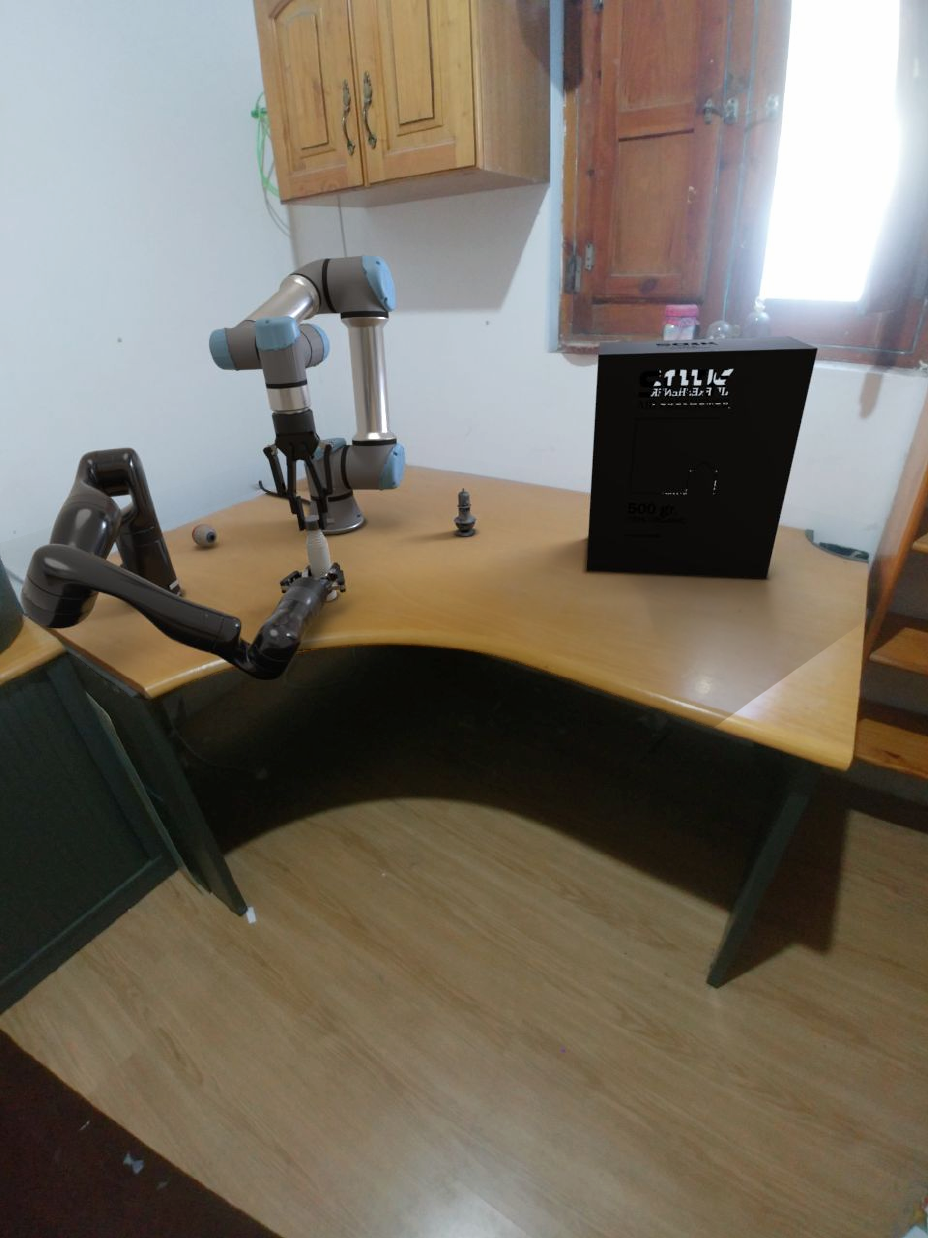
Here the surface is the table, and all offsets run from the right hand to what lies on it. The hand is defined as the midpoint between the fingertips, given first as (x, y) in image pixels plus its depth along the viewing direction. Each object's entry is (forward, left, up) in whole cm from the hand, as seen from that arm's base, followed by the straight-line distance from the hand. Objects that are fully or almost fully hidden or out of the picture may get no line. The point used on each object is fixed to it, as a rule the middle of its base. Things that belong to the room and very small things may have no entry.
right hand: (313, 527), depth 124 cm
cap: (0, 0, +2) cm, 2 cm away
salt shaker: (-9, +44, -16) cm, 48 cm away
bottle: (0, 0, -16) cm, 16 cm away
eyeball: (-49, -12, -16) cm, 52 cm away
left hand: (-2, +2, -10) cm, 10 cm away
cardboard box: (+36, +70, -16) cm, 81 cm away
